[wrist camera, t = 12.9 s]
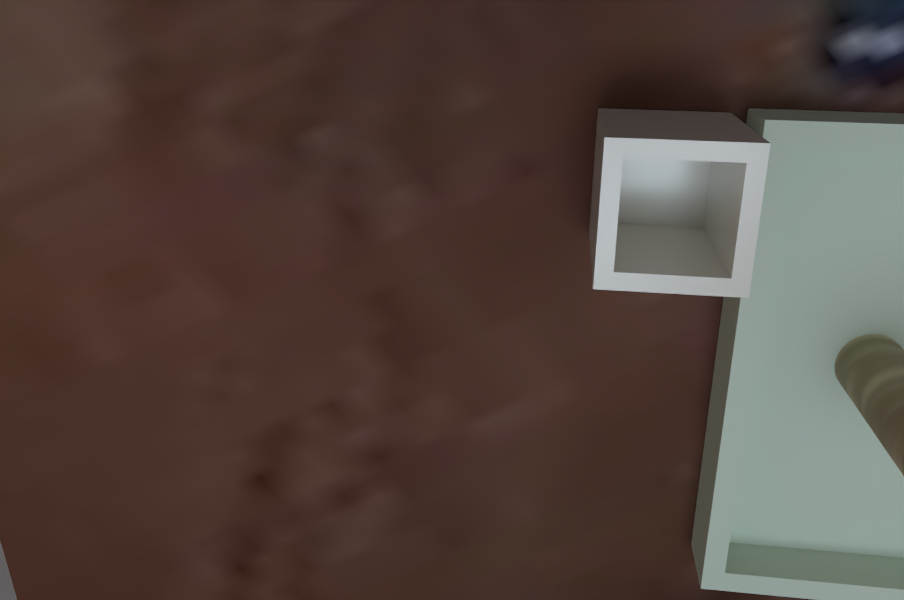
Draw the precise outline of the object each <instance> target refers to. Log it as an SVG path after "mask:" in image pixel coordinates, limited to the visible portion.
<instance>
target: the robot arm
mask: <svg viewBox="0 0 904 600" xmlns="http://www.w3.org/2000/svg"><path fill="white" fill-rule="evenodd" d="M0 600H17V598H16V595H15V591H14V588H13V584H12V581H11V577H10V574H9V570H8V567H7V563H6V560H5V557H4V553H3V550H2V546H1V543H0Z"/></svg>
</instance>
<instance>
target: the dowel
mask: <svg viewBox="0 0 904 600" xmlns="http://www.w3.org/2000/svg"><path fill="white" fill-rule="evenodd" d="M835 375H836V377H837V379H838V381H839V383H840V384H841V386H842V387H843V389H844V390H845V391H846V393H847V394H848V396H849V397H850V399H851V400H852V402H853V403H854V405H855V406H856V407H857V409H858V410H859V412H860V413H861V415H862V416H863V418H864V419H865V421H866V422H867V423H868V425H869V426H870V428H871V429H872V431H873V432H874V434H875V435H876V437H877V438H878V440H879V441H880V442H881V444H882V445H883V447H884V448H885V450H886V451H887V453H888V454H889V456H890V457H891V458H892V460H893V461H894V463H895V464H896V466H897V467H898V469H899V470H900V472H901V473H902V474H903V476H904V349H903V348H902V347H901V346H900V345H899V344H898V343H897V342H896V341H894V340H893V339H891V338H889V337H887V336H884V335H880V334H867V335H862V336H859V337H857V338H854V339H853V340H851V341H849V342H848V343H847V344H846V345H845V346H844V347H843V348H842V349H841V350H840V352H839V353H838V355H837V357H836V361H835Z"/></svg>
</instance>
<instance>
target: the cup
mask: <svg viewBox="0 0 904 600" xmlns="http://www.w3.org/2000/svg"><path fill="white" fill-rule="evenodd" d="M770 145H771V143H770V142H768V141H767V140H766V139H764V138H763V137H762V136H760V135H759V134H758V133H757V132H755V131H754V130H753V129H751V128H750V127H749V126H747V125H746V124H745V123H743V122H742V121H741V120H740V119H738V118H737V117H736V116H734V115H733V114H732V113H730V112H699V111H668V110H637V109H606V108H598V116H597V129H596V143H595V157H594V171H593V185H592V199H591V213H590V226H589V239H590V253H591V268H592V282H593V289H600V290H617V291H635V292H653V293H670V294H688V295H705V296H723V297H741V298H749V294H750V287H751V280H752V273H753V266H754V258H755V251H756V244H757V237H758V230H759V223H760V216H761V209H762V202H763V195H764V188H765V180H766V173H767V166H768V159H769V152H770Z"/></svg>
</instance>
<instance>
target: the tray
mask: <svg viewBox="0 0 904 600" xmlns="http://www.w3.org/2000/svg"><path fill="white" fill-rule="evenodd" d="M746 125H747V126H749V127H750V128H751V129H753V130H754V131H755V132H757V133H758V134H759V135H760V136H762V137H763V138H764V139H766V140H767V141H768V142H770V143H771V145H770V152H769V159H768V166H767V173H766V180H765V188H764V195H763V202H762V209H761V216H760V223H759V230H758V237H757V244H756V251H755V258H754V266H753V273H752V280H751V287H750V294H749V298H741V297H723V304H722V311H721V319H720V327H719V334H718V342H717V350H716V357H715V365H714V373H713V380H712V388H711V396H710V403H709V411H708V419H707V426H706V434H705V442H704V449H703V457H702V465H701V472H700V480H699V488H698V495H697V503H696V511H695V518H694V526H693V534H692V541H691V546H692V551H693V555H694V560H695V565H696V569H697V574H698V579H699V583H700V588H701V589H711V590H721V591H732V592H742V593H752V594H763V595H773V596H784V597H794V598H805V599H815V600H904V476H903V474H902V473H901V472H900V470H899V469H898V467H897V466H896V464H895V463H894V461H893V460H892V458H891V457H890V456H889V454H888V453H887V451H886V450H885V448H884V447H883V445H882V444H881V442H880V441H879V440H878V438H877V437H876V435H875V434H874V432H873V431H872V429H871V428H870V426H869V425H868V423H867V422H866V421H865V419H864V418H863V416H862V415H861V413H860V412H859V410H858V409H857V407H856V406H855V405H854V403H853V402H852V400H851V399H850V397H849V396H848V394H847V393H846V391H845V390H844V389H843V387H842V386H841V384H840V383H839V381H838V379H837V377H836V375H835V361H836V357H837V355H838V353H839V352H840V350H841V349H842V348H843V347H844V346H845V345H846V344H847V343H848V342H849V341H851V340H853V339H854V338H857V337H859V336H862V335H867V334H880V335H884V336H887V337H889V338H891V339H893V340H894V341H896V342H897V343H898V344H899V345H900V346H901V347H902V348H903V349H904V113H880V112H848V111H817V110H785V109H754V108H748V112H747V119H746Z"/></svg>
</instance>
